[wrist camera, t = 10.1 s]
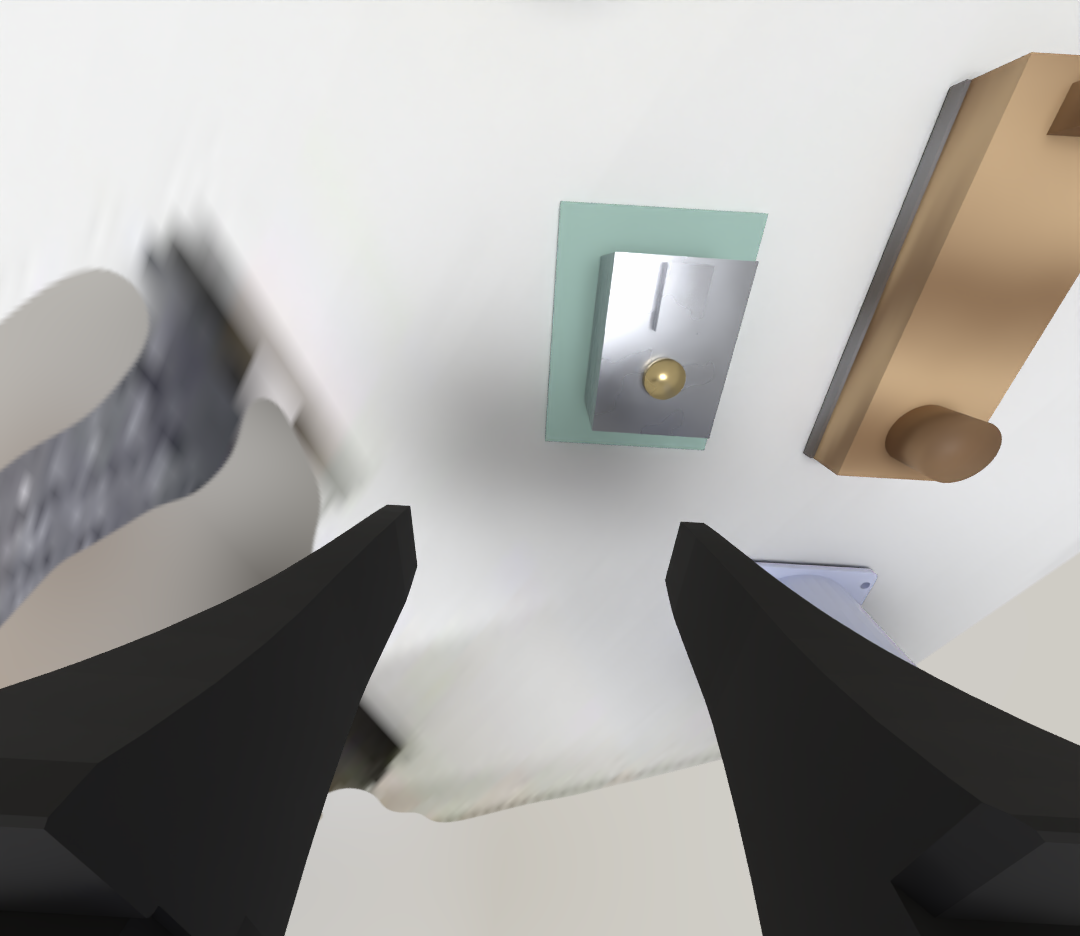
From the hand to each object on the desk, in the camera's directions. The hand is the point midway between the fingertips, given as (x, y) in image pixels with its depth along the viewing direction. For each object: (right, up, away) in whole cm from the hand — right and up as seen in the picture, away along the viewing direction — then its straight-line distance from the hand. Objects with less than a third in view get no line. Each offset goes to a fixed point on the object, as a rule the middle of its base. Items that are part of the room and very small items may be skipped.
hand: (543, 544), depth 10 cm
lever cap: (+4, +8, +7) cm, 11 cm away
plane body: (+17, +9, +6) cm, 20 cm away
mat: (+4, +8, +7) cm, 11 cm away
